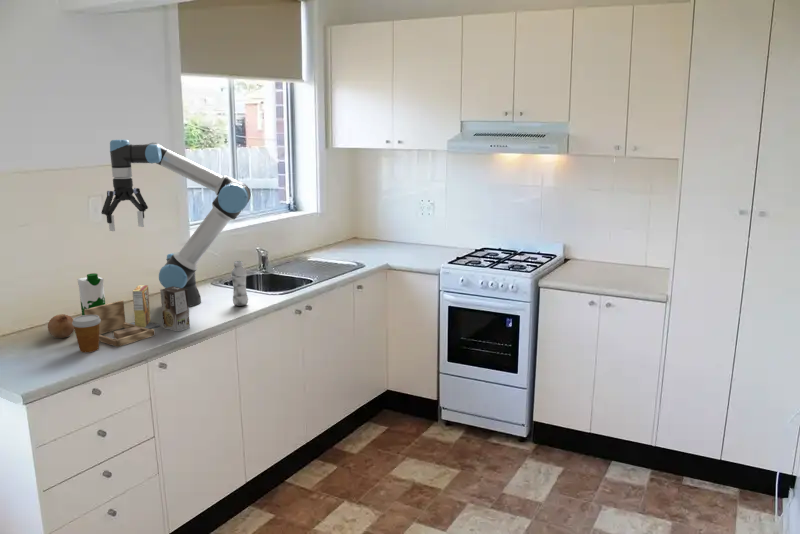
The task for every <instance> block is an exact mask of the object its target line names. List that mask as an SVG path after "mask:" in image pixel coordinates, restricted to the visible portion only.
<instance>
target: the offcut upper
mask: <svg viewBox="0 0 800 534" xmlns="http://www.w3.org/2000/svg"><path fill="white" fill-rule="evenodd" d="M112 332H113V339H114V338H116V339H120V338H123V337H126V336H130V335H133V334H136V333H140V332H142V331H141V328H139V327H137V326H136V327H132V328H127V329H126V328H122V329H118V330H114V331H112Z"/></svg>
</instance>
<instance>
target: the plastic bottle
mask: <svg viewBox="0 0 800 534" xmlns="http://www.w3.org/2000/svg"><path fill="white" fill-rule="evenodd" d="M231 280H232V286H233V287H232V288H233V295H232V303H233V304H234V305H235V306H237V307H242V306H246V305H247V304H248V302H249V297H248V293H247V292H248V291H247V270H246V269H245V268H244V263H243V261H242V260H241V261H240V260H236V261H234V262H233V268H232V270H231Z"/></svg>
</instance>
